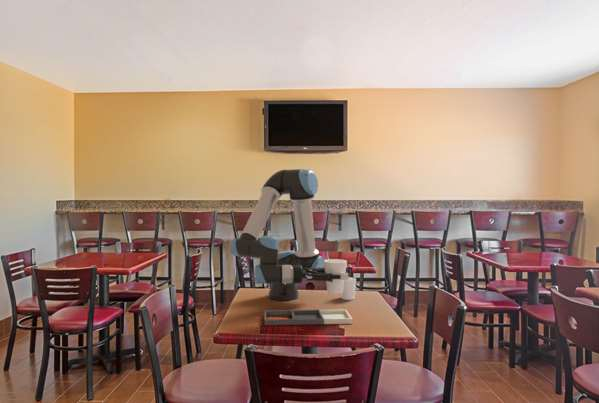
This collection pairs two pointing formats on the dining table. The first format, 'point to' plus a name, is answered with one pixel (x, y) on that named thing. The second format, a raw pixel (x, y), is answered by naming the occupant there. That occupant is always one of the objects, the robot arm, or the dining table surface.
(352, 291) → the white cup
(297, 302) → the dining table surface
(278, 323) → the grey flat rectangular tray
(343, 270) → the foam cup
